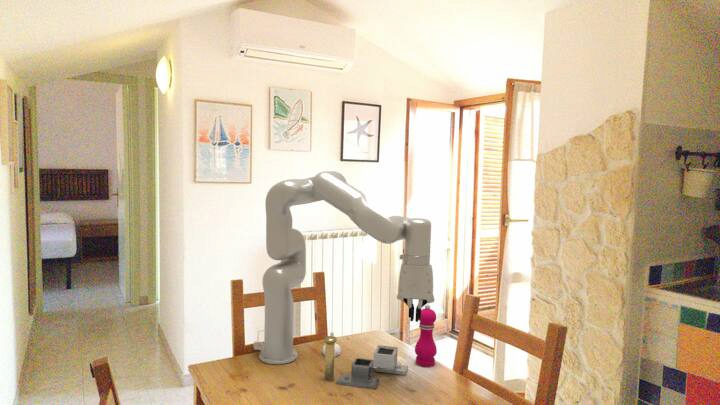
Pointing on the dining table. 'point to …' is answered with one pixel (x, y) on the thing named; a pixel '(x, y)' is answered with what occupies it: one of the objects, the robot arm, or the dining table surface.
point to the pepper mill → (426, 338)
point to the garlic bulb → (337, 348)
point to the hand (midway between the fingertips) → (414, 320)
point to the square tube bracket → (387, 361)
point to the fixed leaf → (360, 375)
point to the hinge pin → (329, 357)
